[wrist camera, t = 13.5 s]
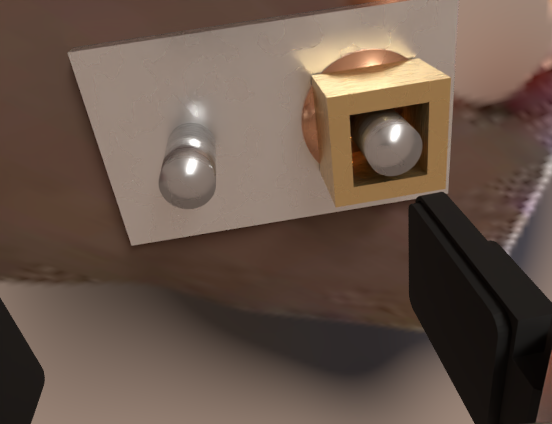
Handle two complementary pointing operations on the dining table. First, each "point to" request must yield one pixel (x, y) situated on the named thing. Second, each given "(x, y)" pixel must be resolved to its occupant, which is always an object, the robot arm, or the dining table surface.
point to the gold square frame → (372, 97)
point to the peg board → (249, 113)
